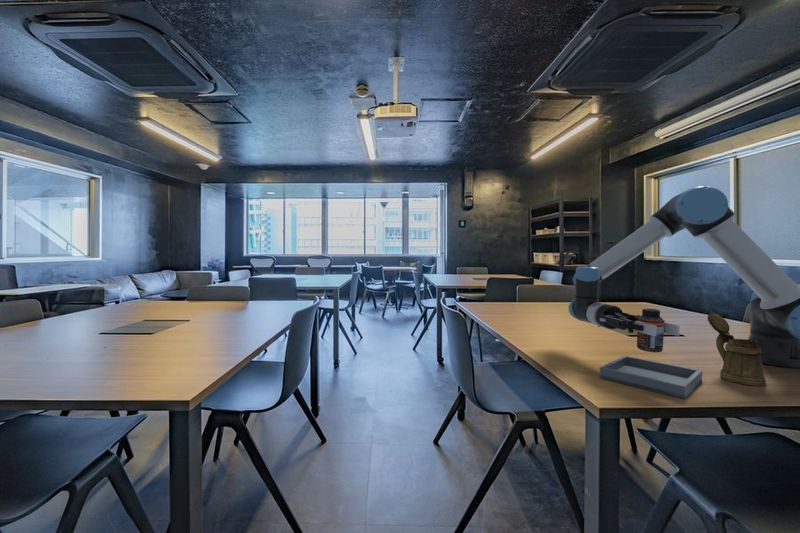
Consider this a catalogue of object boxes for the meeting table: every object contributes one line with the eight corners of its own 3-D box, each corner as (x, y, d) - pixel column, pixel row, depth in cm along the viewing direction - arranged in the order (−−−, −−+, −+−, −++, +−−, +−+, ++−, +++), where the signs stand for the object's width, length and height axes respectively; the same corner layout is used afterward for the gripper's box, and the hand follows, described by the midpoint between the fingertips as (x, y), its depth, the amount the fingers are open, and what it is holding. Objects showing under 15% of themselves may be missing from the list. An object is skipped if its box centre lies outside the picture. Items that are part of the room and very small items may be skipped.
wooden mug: (720, 369, 108) (721, 310, 107) (775, 385, 95) (777, 318, 94) (696, 371, 106) (698, 311, 106) (748, 387, 93) (751, 319, 92)
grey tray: (702, 381, 97) (702, 370, 97) (684, 399, 85) (685, 386, 85) (624, 364, 112) (624, 355, 112) (599, 378, 100) (599, 367, 99)
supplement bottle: (631, 347, 101) (632, 307, 101) (651, 347, 101) (652, 307, 101) (647, 353, 95) (649, 311, 95) (668, 352, 96) (670, 311, 95)
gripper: (631, 326, 117) (698, 344, 94) (578, 327, 115) (633, 345, 92) (632, 304, 117) (699, 316, 94) (578, 304, 115) (634, 316, 92)
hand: (666, 330), depth 93 cm, fingers closed on supplement bottle, 6 cm apart
